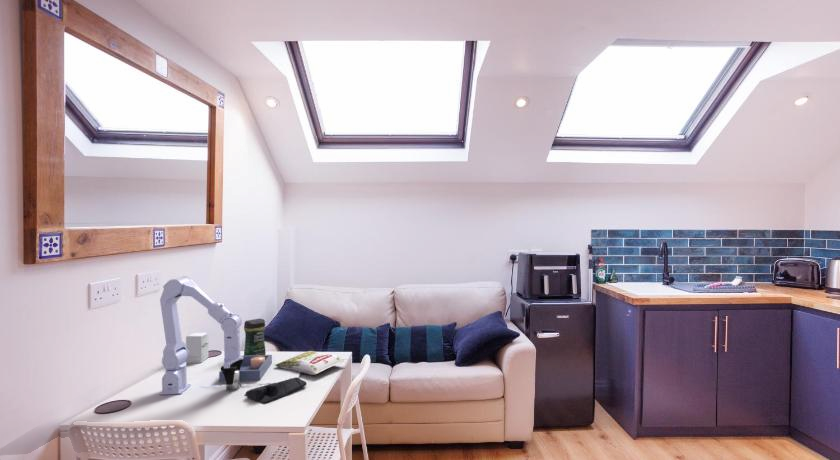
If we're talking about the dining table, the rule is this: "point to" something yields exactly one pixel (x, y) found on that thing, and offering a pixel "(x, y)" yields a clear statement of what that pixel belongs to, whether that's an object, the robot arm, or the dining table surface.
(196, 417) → the dining table surface
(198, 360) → the supplement box
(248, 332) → the coffee jar
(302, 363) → the frozen beans
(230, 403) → the dining table surface
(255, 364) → the peach round blob
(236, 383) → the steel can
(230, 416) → the dining table surface
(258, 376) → the slate blue tote
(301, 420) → the dining table surface
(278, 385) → the dark slate chunk
